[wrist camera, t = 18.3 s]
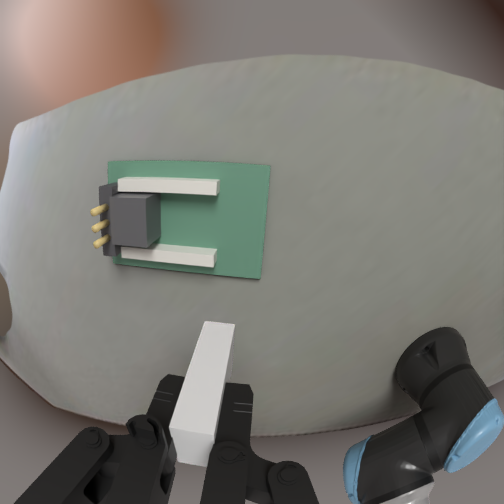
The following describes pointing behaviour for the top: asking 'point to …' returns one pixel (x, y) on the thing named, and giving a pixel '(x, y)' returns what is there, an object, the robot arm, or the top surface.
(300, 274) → the top surface
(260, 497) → the robot arm
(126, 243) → the plug
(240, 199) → the header board
